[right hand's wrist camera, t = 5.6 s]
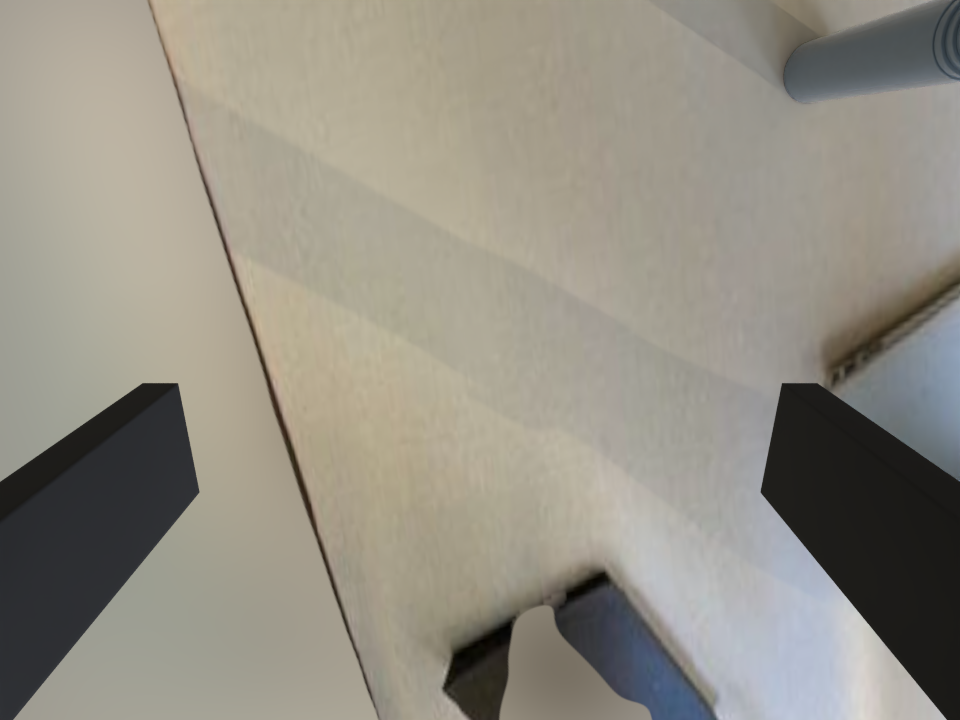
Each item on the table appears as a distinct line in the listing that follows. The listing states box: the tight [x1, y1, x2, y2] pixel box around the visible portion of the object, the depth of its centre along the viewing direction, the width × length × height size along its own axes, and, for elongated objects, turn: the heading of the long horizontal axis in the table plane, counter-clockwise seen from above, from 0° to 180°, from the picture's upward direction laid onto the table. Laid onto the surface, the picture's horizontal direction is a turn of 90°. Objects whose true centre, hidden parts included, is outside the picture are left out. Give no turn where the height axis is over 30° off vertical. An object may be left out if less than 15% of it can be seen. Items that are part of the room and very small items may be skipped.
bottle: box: [784, 0, 960, 103], centre depth 37 cm, size 5×5×21 cm
